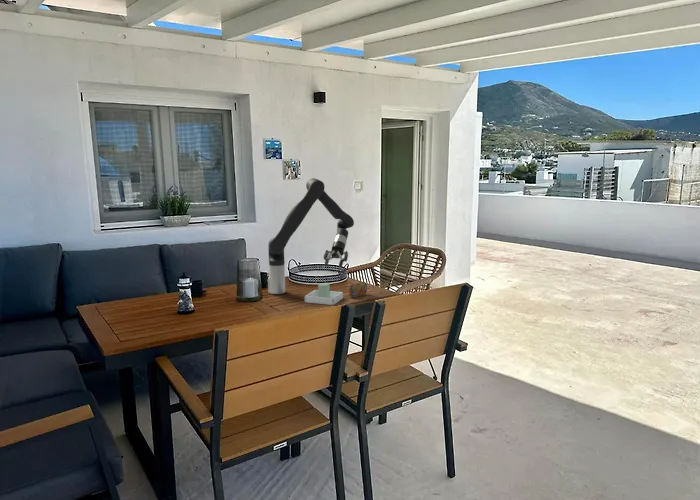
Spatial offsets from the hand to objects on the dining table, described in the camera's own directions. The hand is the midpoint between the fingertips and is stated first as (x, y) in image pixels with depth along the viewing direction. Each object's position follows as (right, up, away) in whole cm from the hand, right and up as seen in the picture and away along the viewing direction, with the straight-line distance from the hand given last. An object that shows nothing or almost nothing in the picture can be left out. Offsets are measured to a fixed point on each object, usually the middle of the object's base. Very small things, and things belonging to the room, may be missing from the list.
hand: (333, 265), depth 283 cm
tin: (+15, -18, -1) cm, 23 cm away
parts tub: (-5, -19, -11) cm, 23 cm away
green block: (-5, -19, -11) cm, 22 cm away
